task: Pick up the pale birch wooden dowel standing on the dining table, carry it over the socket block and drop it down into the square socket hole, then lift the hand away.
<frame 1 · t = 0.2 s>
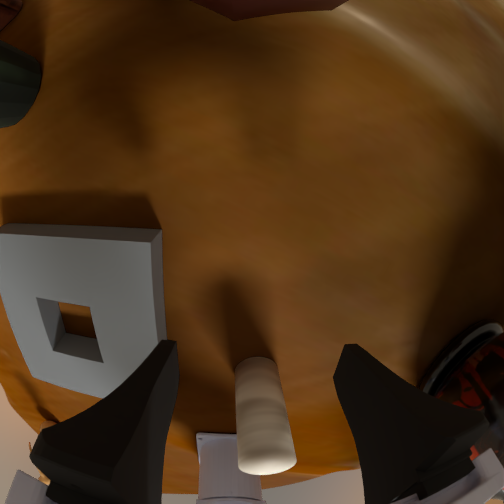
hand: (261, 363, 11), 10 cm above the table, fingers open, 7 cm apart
amphora vase: (458, 364, 28), on the table
figurine: (60, 423, 28), on the table
potion bottle: (18, 91, 14), on the table
birch dowel: (256, 372, 24), on the table
socket block: (82, 312, 21), on the table
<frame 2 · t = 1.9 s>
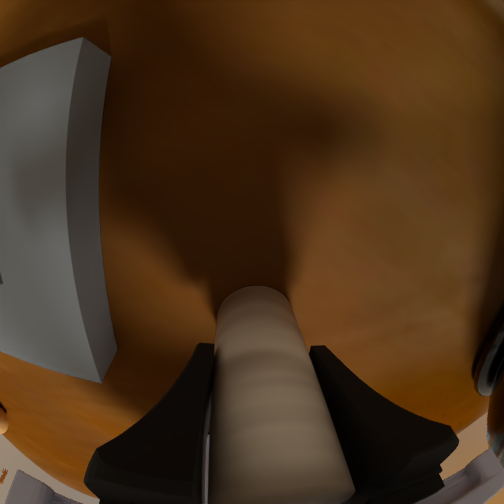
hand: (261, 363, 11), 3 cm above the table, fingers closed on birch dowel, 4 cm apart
figurine: (5, 408, 18), on the table
birch dowel: (255, 319, 14), on the table, touching gripper
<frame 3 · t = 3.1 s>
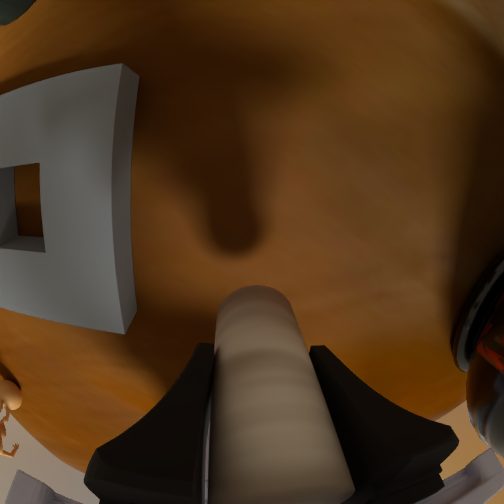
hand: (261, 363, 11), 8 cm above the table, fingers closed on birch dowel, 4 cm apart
amphora vase: (493, 307, 22), on the table
figurine: (19, 385, 22), on the table
birch dowel: (255, 319, 14), point 4 cm above the table, touching gripper
socket block: (38, 200, 15), on the table
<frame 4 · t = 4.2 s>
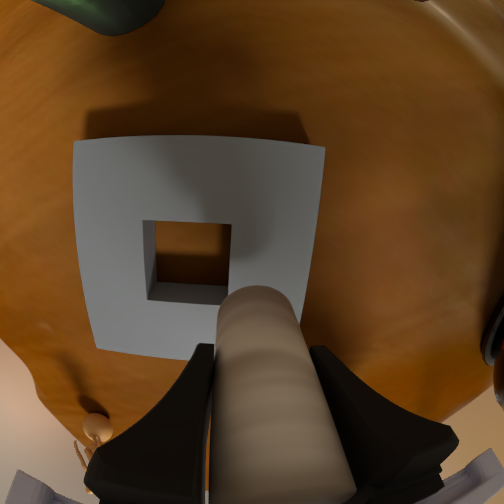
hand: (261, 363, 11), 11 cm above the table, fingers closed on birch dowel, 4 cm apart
figurine: (108, 416, 27), on the table
potion bottle: (129, 6, 13), on the table
birch dowel: (255, 319, 14), point 7 cm above the table, touching gripper
socket block: (192, 249, 20), on the table
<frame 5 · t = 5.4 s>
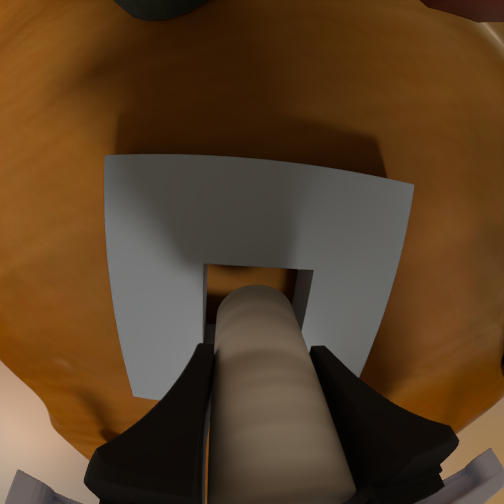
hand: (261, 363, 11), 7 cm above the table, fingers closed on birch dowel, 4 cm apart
birch dowel: (255, 319, 14), point 4 cm above the table, touching gripper
socket block: (251, 289, 18), on the table
when the fingers open (4 cm above the table, at t = 6.4 s): birch dowel drops 1 cm, resting in socket block.
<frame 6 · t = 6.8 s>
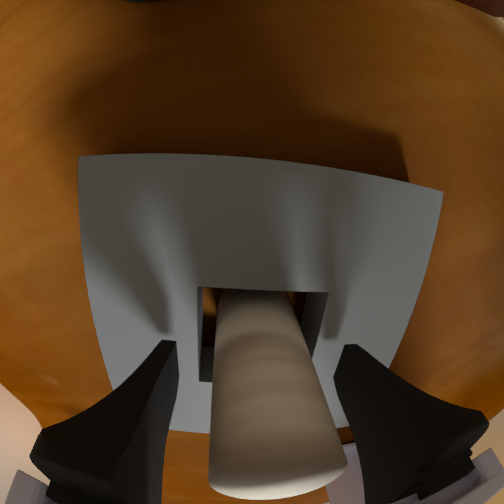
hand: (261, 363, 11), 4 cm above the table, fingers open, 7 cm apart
birch dowel: (254, 309, 15), resting in socket block
socket block: (253, 310, 15), on the table
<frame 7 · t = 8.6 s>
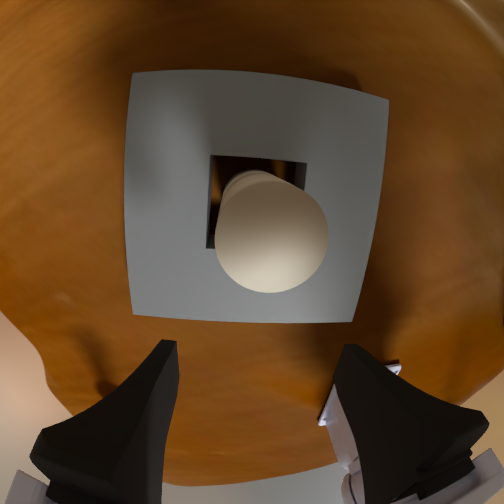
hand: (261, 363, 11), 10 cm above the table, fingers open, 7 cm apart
birch dowel: (252, 197, 19), resting in socket block
socket block: (252, 197, 19), on the table
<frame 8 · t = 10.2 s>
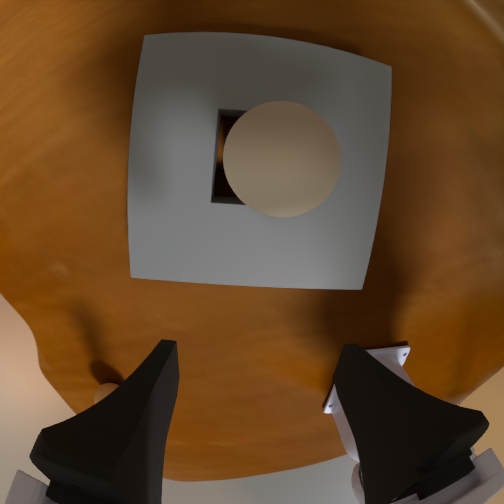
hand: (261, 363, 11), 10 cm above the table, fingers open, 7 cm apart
birch dowel: (258, 157, 18), resting in socket block
socket block: (258, 158, 18), on the table
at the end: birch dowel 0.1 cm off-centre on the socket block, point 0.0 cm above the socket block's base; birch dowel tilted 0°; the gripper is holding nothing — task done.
